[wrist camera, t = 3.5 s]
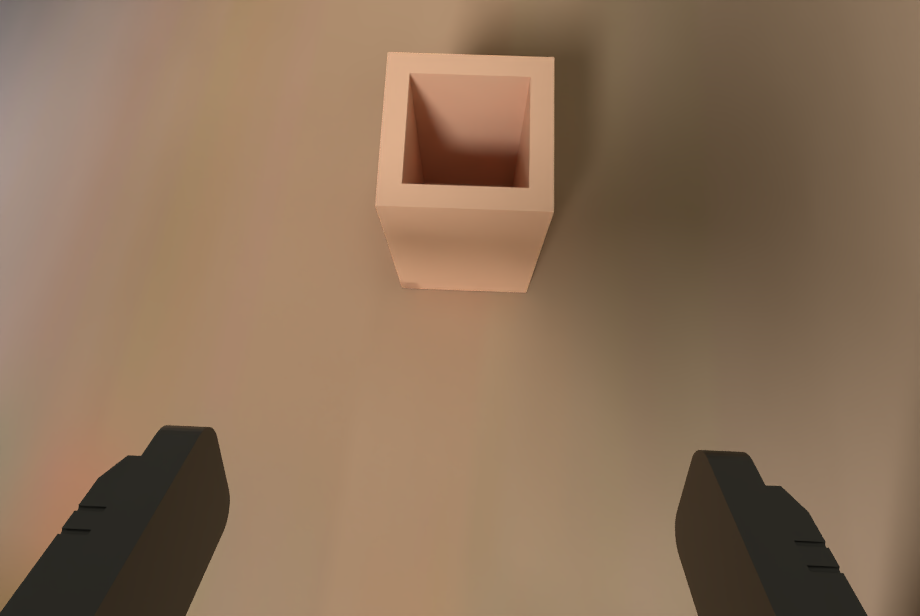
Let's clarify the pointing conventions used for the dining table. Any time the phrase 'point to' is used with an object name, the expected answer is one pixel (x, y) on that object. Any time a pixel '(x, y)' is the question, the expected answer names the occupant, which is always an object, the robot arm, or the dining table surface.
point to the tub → (466, 168)
